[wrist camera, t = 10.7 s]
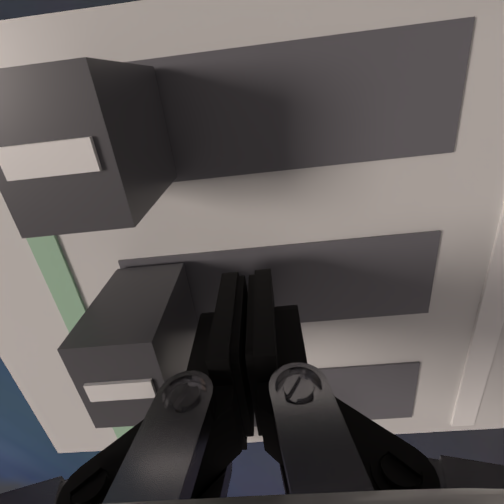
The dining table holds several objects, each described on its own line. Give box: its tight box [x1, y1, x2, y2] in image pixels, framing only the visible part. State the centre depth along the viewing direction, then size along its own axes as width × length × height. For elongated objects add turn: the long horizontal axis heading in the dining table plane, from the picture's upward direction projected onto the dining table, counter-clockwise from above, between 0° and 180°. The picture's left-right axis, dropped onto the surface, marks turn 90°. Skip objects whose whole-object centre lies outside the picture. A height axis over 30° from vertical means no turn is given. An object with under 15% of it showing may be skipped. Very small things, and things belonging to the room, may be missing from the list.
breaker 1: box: [0, 57, 177, 238], centre depth 8 cm, size 2×3×4 cm
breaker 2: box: [57, 263, 198, 428], centre depth 11 cm, size 2×3×4 cm
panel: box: [0, 0, 504, 453], centre depth 13 cm, size 24×18×2 cm
